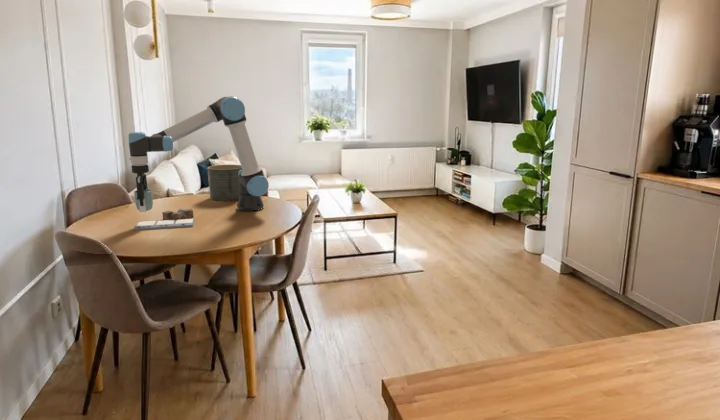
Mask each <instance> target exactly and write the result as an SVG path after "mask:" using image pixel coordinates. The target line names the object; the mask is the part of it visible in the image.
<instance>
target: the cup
mask: <svg viewBox="0 0 720 420" xmlns="http://www.w3.org/2000/svg"><path fill="white" fill-rule="evenodd" d="M133 194H134V203H135V206H136V209H137V211H139V212H140V209H139V199H138V200H137V190H135V191H134V192H133ZM144 199H145V205H146V212H149V211H151V210H152V209H153V206H154V205H153V204H154V199H153V191H152V189H146V190H144Z"/></svg>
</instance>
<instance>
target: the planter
mask: <svg viewBox="0 0 720 420" xmlns="http://www.w3.org/2000/svg"><path fill="white" fill-rule="evenodd" d="M239 170H242V167H241V164H216V165H210V166H208V167H207V177H208V178H207V179H208V187H209V197H210V200H212V201H216V202H233V200H234V201H238V200H239V196H240V195H239V179H238V172H239Z"/></svg>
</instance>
